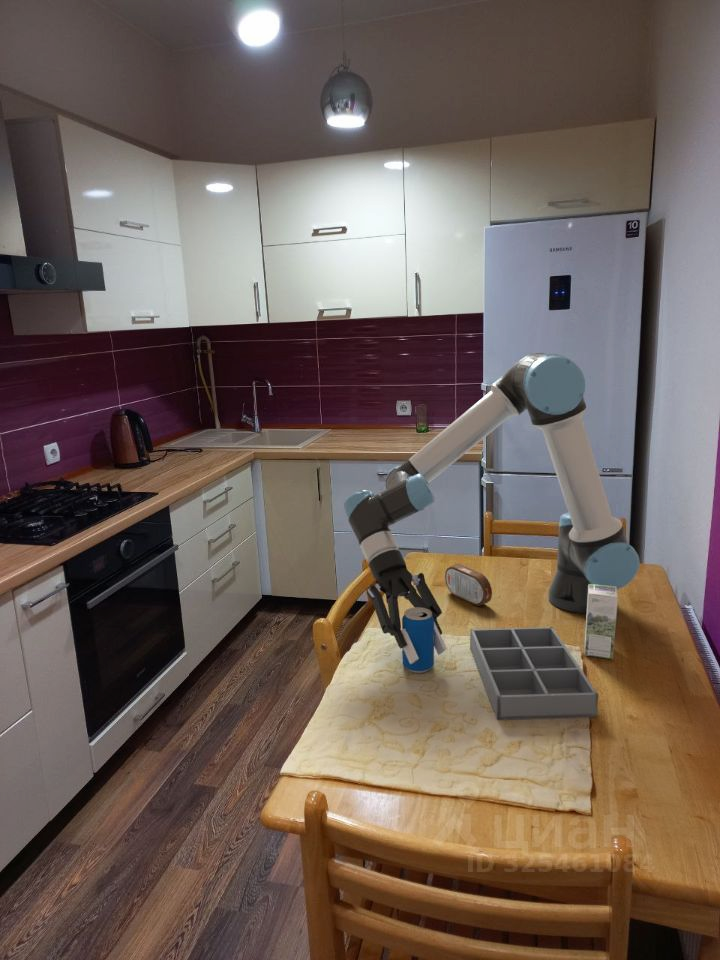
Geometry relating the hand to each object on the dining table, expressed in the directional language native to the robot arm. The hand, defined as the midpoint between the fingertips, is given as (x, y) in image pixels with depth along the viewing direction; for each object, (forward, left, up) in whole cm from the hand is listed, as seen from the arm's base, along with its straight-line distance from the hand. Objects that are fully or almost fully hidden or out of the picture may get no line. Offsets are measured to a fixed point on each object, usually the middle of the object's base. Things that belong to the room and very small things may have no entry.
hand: (428, 656), depth 129 cm
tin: (-14, -36, -4) cm, 39 cm away
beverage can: (+2, -3, -4) cm, 6 cm away
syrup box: (-37, -7, -4) cm, 38 cm away
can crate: (-19, +3, -4) cm, 20 cm away
